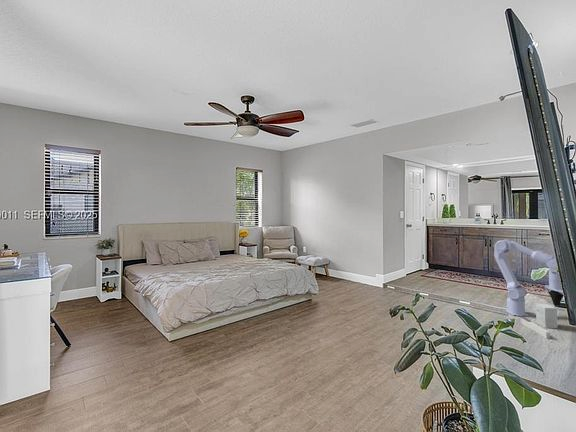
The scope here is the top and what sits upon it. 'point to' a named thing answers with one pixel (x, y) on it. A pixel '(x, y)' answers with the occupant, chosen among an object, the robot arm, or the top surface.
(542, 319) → the small box
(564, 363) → the top surface
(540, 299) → the top surface
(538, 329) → the light grey long bar
